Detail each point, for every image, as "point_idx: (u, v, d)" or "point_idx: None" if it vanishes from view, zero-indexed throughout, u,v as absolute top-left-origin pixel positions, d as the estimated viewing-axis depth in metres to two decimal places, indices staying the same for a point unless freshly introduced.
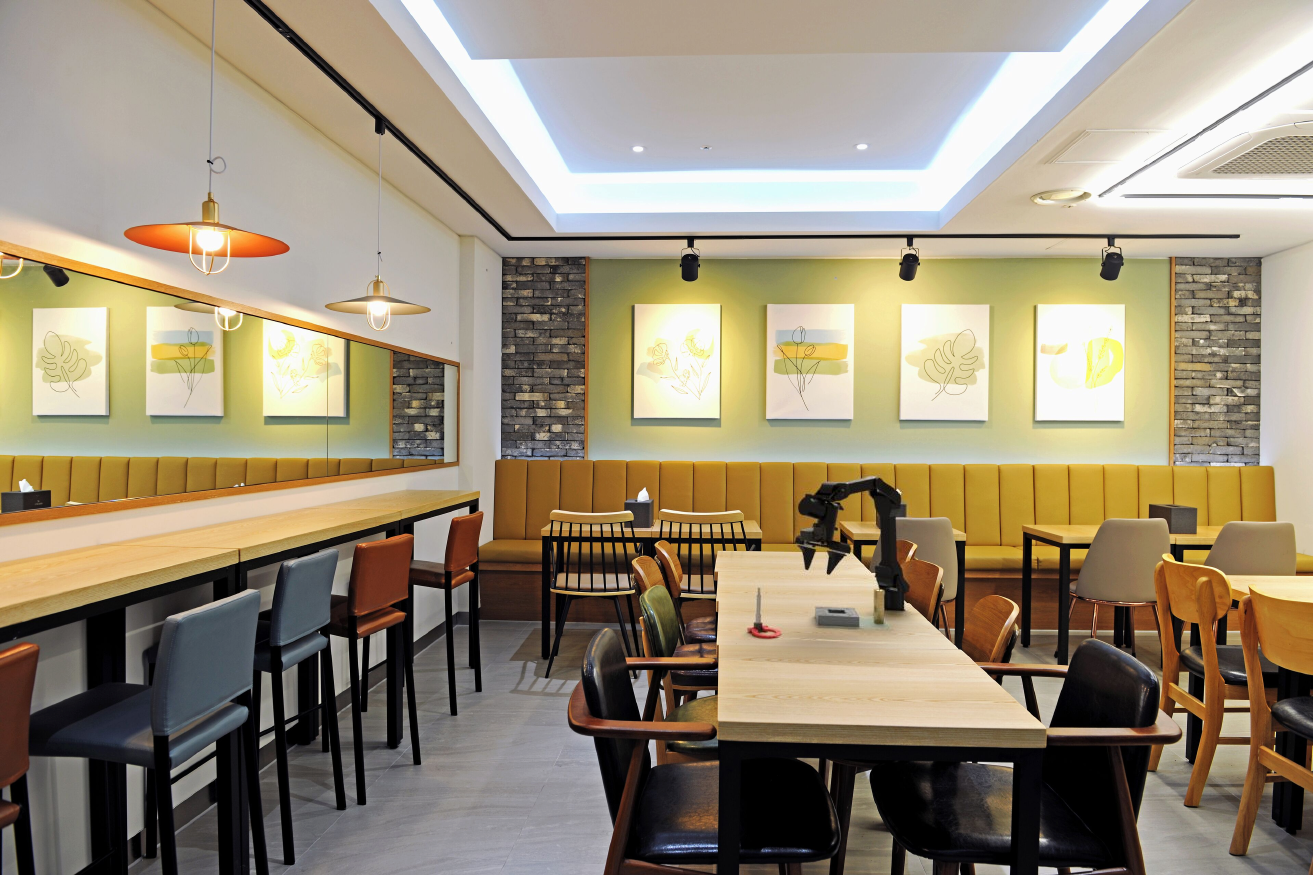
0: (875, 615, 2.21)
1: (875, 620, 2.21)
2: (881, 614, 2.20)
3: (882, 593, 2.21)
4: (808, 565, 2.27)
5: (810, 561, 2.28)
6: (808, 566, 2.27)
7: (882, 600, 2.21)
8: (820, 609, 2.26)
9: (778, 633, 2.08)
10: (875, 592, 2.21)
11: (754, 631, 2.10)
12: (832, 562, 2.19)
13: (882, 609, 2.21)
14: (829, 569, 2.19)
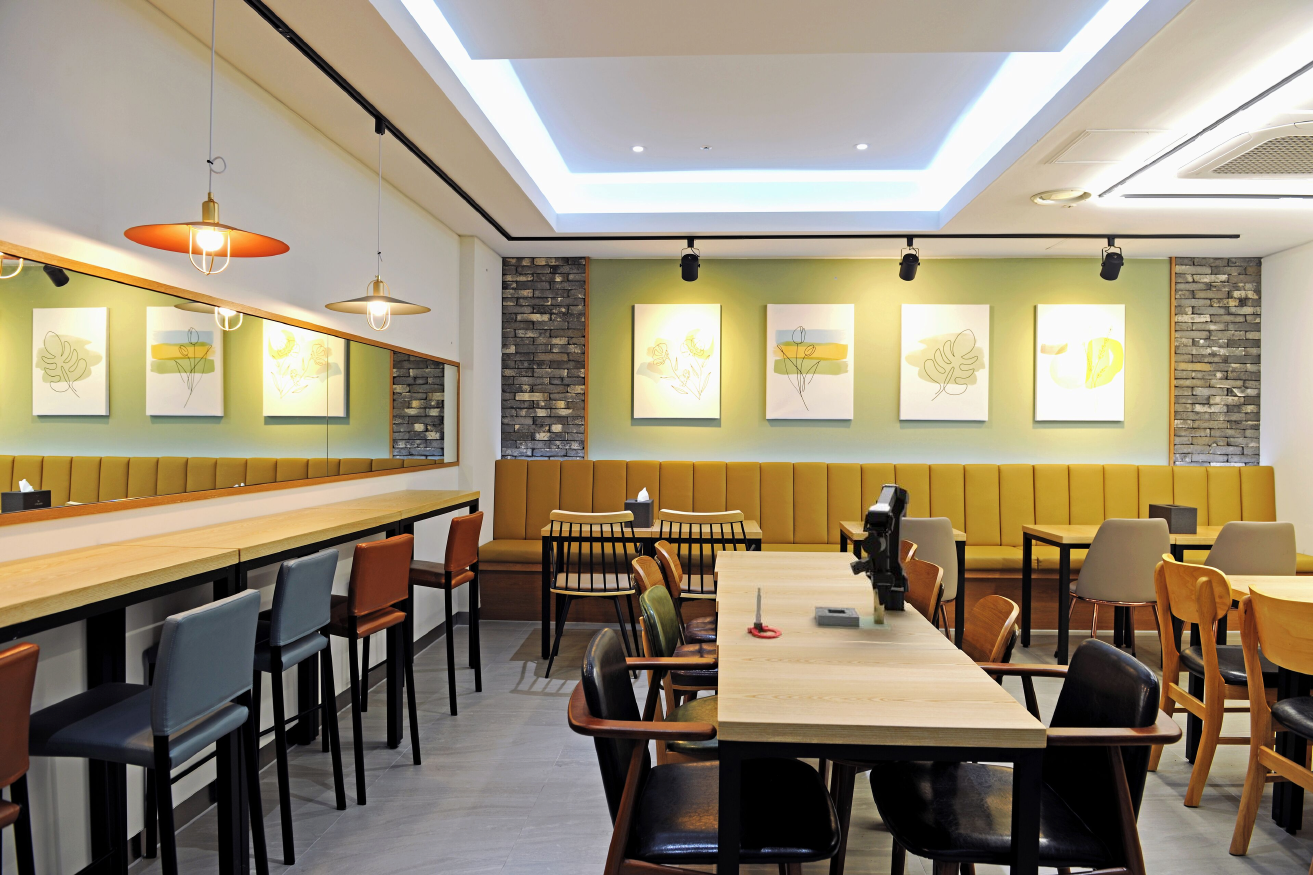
0: (875, 615, 2.21)
1: (875, 620, 2.21)
2: (881, 614, 2.20)
3: None
4: None
5: None
6: None
7: None
8: (820, 609, 2.26)
9: (778, 633, 2.08)
10: (875, 592, 2.21)
11: (754, 631, 2.10)
12: (880, 593, 2.16)
13: (882, 609, 2.21)
14: (880, 600, 2.17)
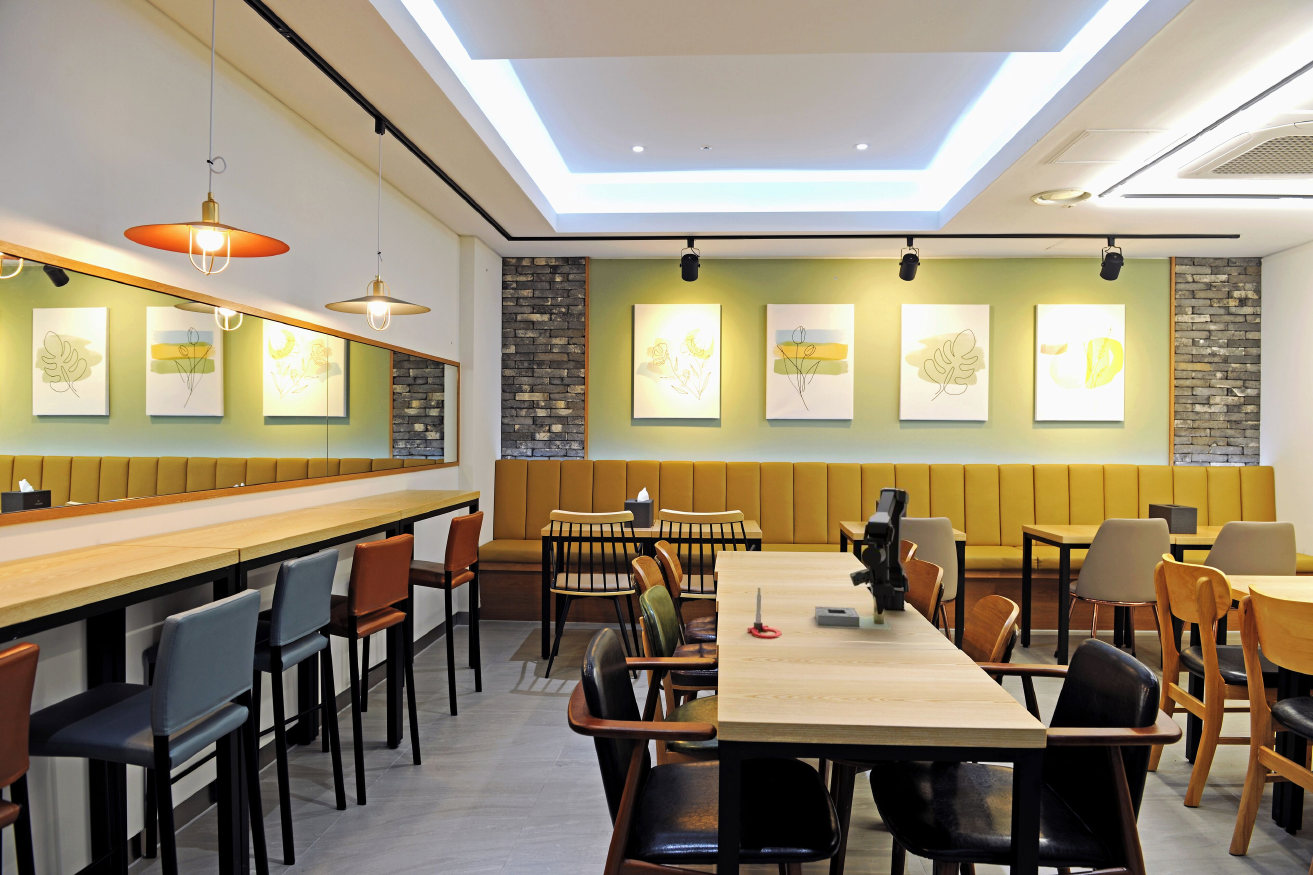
0: (875, 615, 2.21)
1: (875, 620, 2.21)
2: (881, 614, 2.20)
3: None
4: None
5: None
6: None
7: None
8: (820, 609, 2.26)
9: (778, 633, 2.08)
10: None
11: (754, 631, 2.10)
12: (879, 602, 2.19)
13: None
14: (878, 609, 2.20)
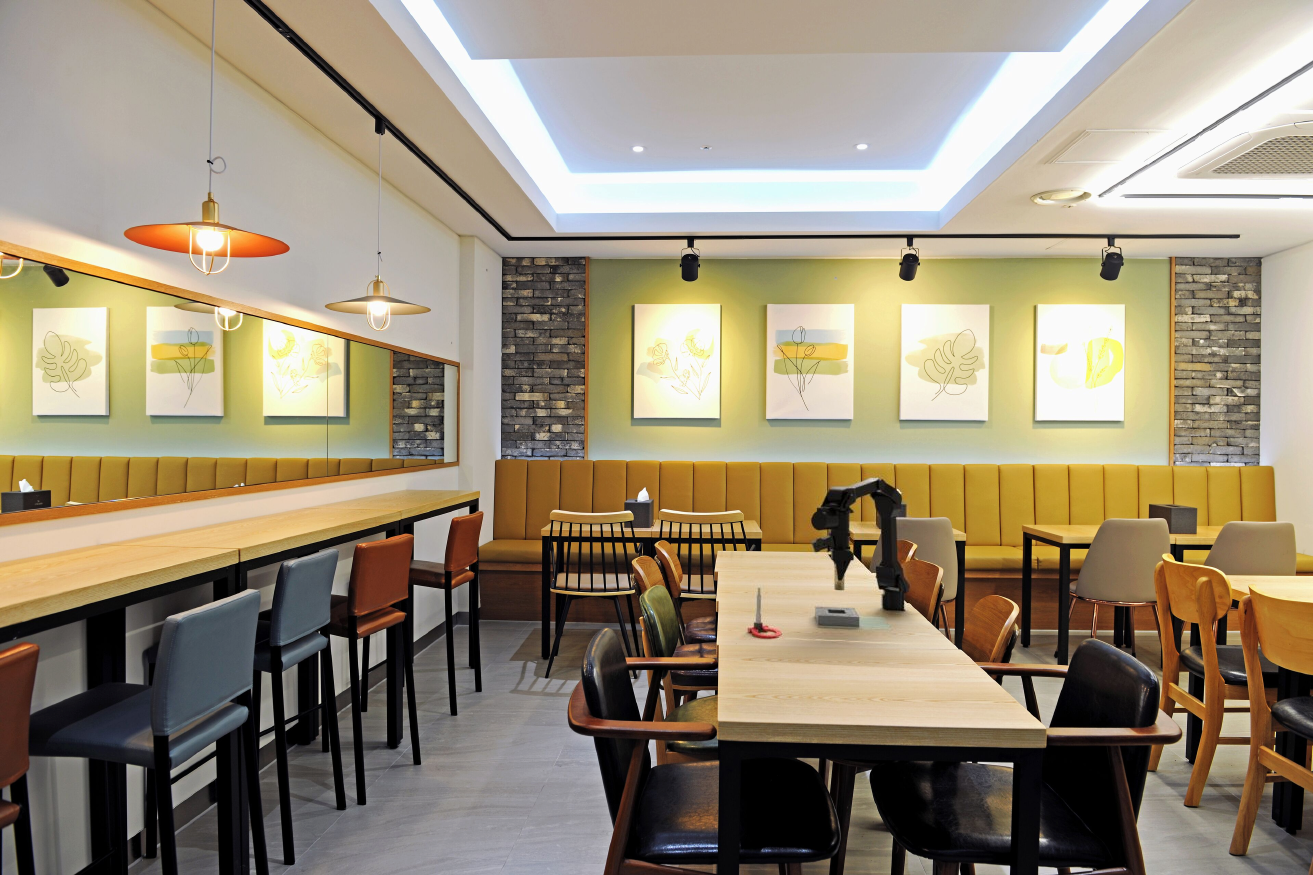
0: (836, 581, 2.23)
1: (835, 586, 2.23)
2: None
3: None
4: None
5: None
6: None
7: None
8: (820, 609, 2.26)
9: (778, 633, 2.08)
10: None
11: (754, 631, 2.10)
12: (839, 568, 2.21)
13: None
14: (838, 575, 2.21)
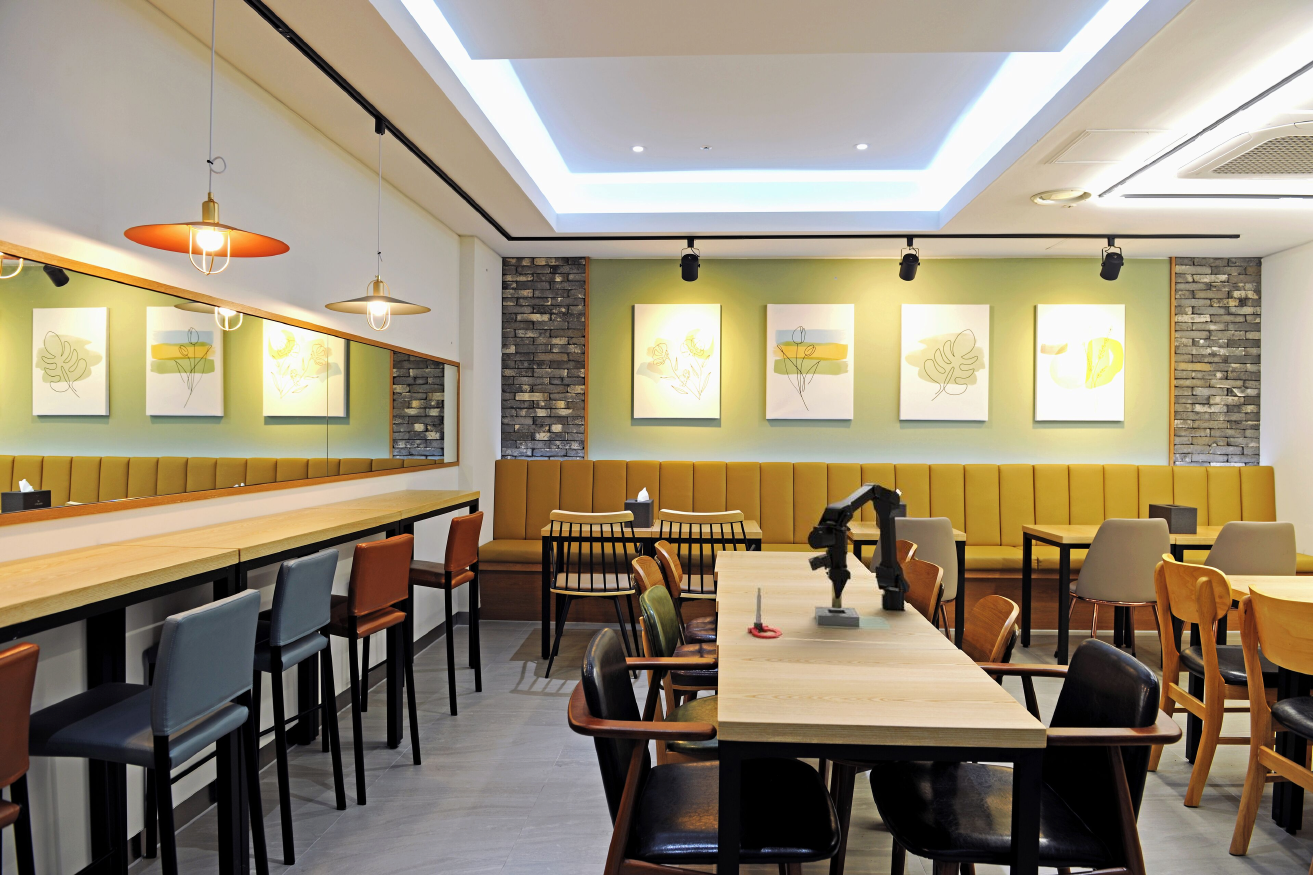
0: (833, 599, 2.23)
1: (833, 604, 2.23)
2: (839, 599, 2.22)
3: None
4: None
5: None
6: None
7: None
8: (820, 609, 2.26)
9: (778, 633, 2.08)
10: None
11: (754, 631, 2.10)
12: (836, 587, 2.21)
13: None
14: (835, 593, 2.22)
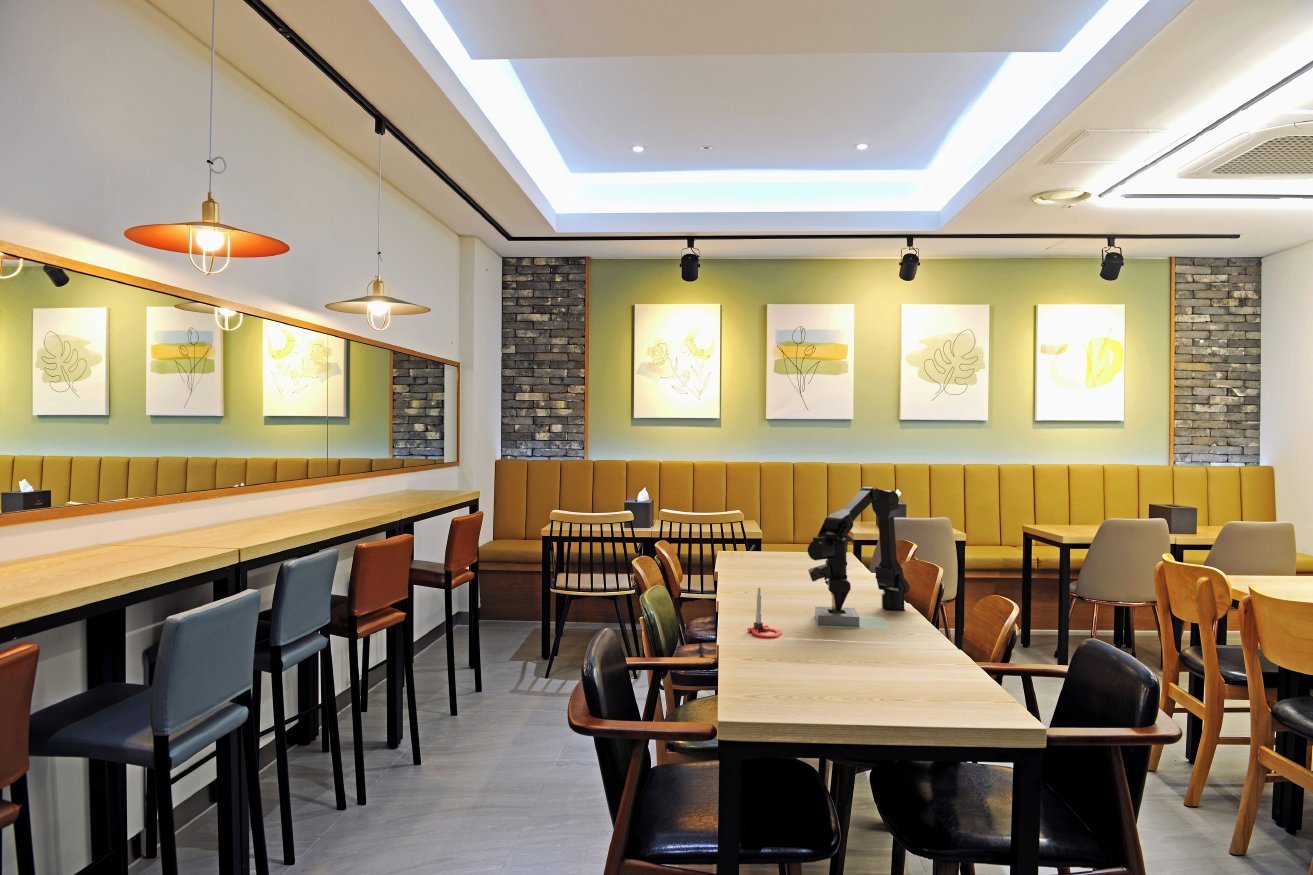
0: None
1: None
2: (839, 613, 2.22)
3: None
4: None
5: None
6: None
7: None
8: (820, 609, 2.26)
9: (778, 633, 2.08)
10: None
11: (754, 631, 2.10)
12: (837, 599, 2.19)
13: None
14: (836, 606, 2.19)
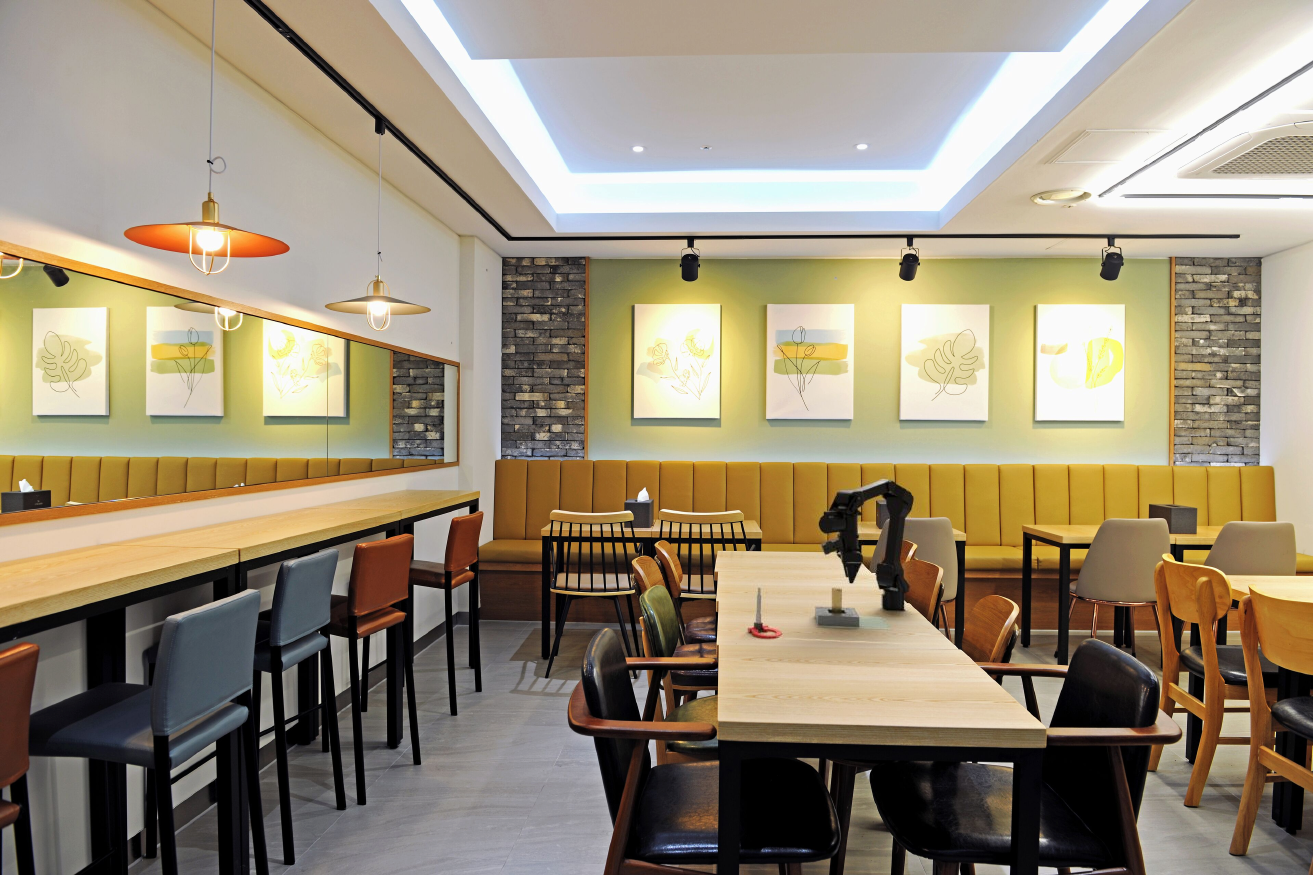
0: None
1: None
2: (839, 613, 2.22)
3: (840, 592, 2.22)
4: None
5: None
6: None
7: (840, 599, 2.22)
8: (820, 609, 2.26)
9: (778, 633, 2.08)
10: (833, 591, 2.23)
11: (754, 631, 2.10)
12: (850, 571, 2.24)
13: (840, 607, 2.22)
14: (849, 578, 2.25)
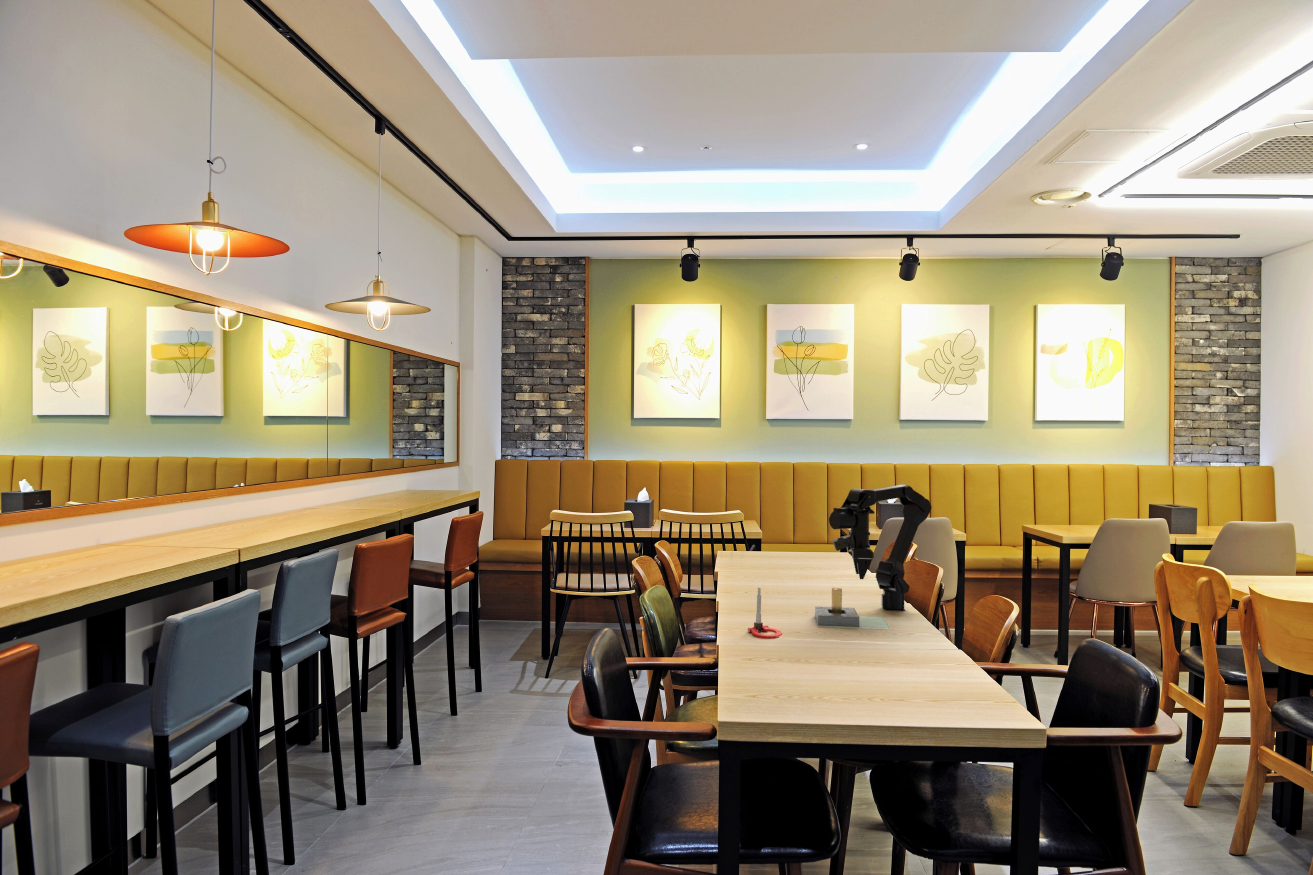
0: None
1: None
2: (839, 613, 2.22)
3: (840, 592, 2.22)
4: None
5: None
6: None
7: (840, 598, 2.22)
8: (820, 609, 2.26)
9: (778, 633, 2.08)
10: (833, 591, 2.23)
11: (754, 631, 2.10)
12: (860, 567, 2.30)
13: (840, 607, 2.22)
14: (860, 574, 2.30)
